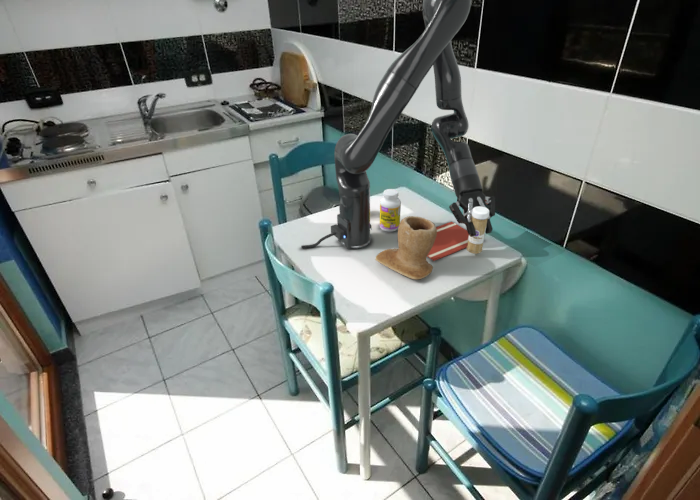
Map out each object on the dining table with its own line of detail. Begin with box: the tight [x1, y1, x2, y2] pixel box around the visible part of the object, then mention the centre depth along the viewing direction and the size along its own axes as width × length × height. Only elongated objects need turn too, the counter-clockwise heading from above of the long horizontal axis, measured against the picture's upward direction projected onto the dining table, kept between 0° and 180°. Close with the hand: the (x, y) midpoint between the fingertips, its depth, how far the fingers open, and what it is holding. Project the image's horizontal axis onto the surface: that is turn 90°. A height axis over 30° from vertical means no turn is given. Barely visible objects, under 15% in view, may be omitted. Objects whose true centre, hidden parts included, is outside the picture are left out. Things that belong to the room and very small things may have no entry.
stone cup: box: [374, 215, 437, 281], centre depth 115 cm, size 15×12×15 cm
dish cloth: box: [427, 221, 469, 262], centre depth 130 cm, size 20×14×1 cm
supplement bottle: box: [379, 188, 402, 233], centre depth 134 cm, size 7×7×13 cm
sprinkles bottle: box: [466, 206, 489, 255], centre depth 119 cm, size 5×5×13 cm
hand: (481, 234), depth 117 cm, fingers closed on sprinkles bottle, 4 cm apart
